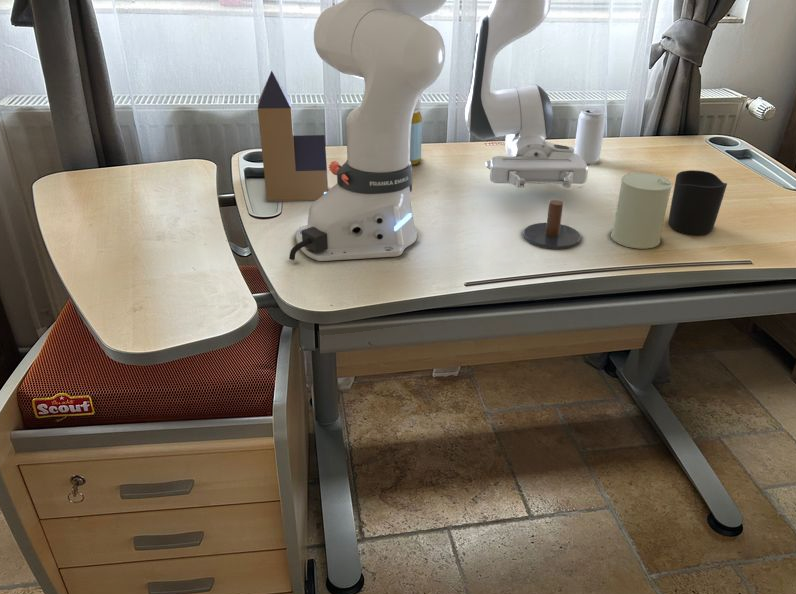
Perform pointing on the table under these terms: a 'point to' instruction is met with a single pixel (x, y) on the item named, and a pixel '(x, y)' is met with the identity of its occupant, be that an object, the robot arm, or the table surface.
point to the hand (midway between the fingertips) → (544, 184)
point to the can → (641, 210)
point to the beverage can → (590, 134)
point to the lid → (552, 230)
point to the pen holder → (696, 202)
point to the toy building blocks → (288, 150)
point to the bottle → (416, 135)
